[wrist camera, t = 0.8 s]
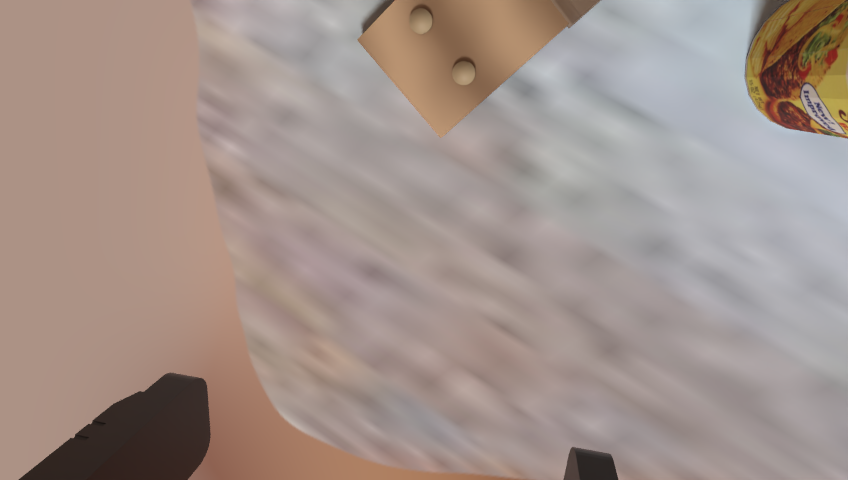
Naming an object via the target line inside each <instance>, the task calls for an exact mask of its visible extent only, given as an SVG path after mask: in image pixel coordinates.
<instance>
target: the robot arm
mask: <svg viewBox="0 0 848 480" xmlns="http://www.w3.org/2000/svg"><path fill="white" fill-rule="evenodd" d="M209 443H210V421H209V407H208V394H207V385H206V382H205V381H204V379H202V378H198V377H192V376H187V375H181V374H176V373H168V374H165V375H164V376H163V377H161V378H160V379H159V380H158V381H156V382H155V383H154V384H153V385H152V386H150V387H149V388H148V389H147V390H146V391H145V392H141V391H140V392H137V393H135V394H134V395H131V396H129V397H127V398H125V399H123V400H121V401H119V402H117V403H115V404H113V405H112V406H110V407H109V408H108V409H107V410H105V411H104V412H103V413H102V414H100V415H99V416H98V417H97V418H95V419H94V420H93V422H92V424H88V425H87V426H85V427H84V428H83V429H82V430H80V431H79V432H78V433H77V434H75V437H74V438H70V439H69V440H68V441H67V442H65V443H64V444H63V445H62V446H60V447H59V448H58V449H56V450H55V451H54V452H53V453H51V454H50V455H49V456H48V457H46V458H45V459H44V460H43V461H42V462H40V463H39V464H38V465H36V466H35V467H34V468H33V469H31V470H30V471H29V472H28V473H26V474H25V475H24V476H23V477H21V478H20V479H19V480H188V478H189V477H190V476H191V475H192V474H193V472H194V471H195V470H196V469H197V467H198V466H199V465H200V464H201V462H202V461H203V458H204V457H205V455H206V453H207V450H208V447H209ZM564 480H618V477H617V473H616V469H615V465H614V461H613V458H612V456H611V454H608V453H602V452H597V451H592V450H586V449H581V448H575V447H572V448H571V450H570V453H569V457H568V461H567V466H566V471H565V476H564Z"/></svg>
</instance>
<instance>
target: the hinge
mask: <svg viewBox="0 0 848 480" xmlns="http://www.w3.org/2000/svg"><path fill="white" fill-rule="evenodd" d="M600 1H601V0H395V1H394V2H393V3H392V4H391V5H390V6H389V7H388V8H387V9H386V10H385V11H384V12H383V13H382V14H381V15H380V16H379V17H378V19H377V20H376V21H375V22H374V23H373V24H372V25H371V26H370V27H369V28H368V29H367V30H366V31H365V32H364V33H363V34H362V35H361V36H360V37H359V39H358V41H359V43H360V44H361V45H362V46H363V47H364V49H365V50H366V51H367V52H368V53H369V54H370V56H371V57H372V58H373V59H374V60H375V61H376V63H377V64H378V65H379V66H380V67H381V69H382V70H383V71H384V72H385V73H386V74H387V76H388V77H389V78H390V79H391V80H392V81H393V83H394V84H395V85H396V86H397V87H398V89H399V90H400V91H401V92H402V93H403V94H404V96H405V97H406V98H407V99H408V100H409V101H410V103H411V104H412V105H413V106H414V107H415V109H416V110H417V111H418V112H419V113H420V114H421V116H422V117H423V118H424V119H425V120H426V121H427V123H428V124H429V125H430V126H431V127H432V129H433V130H434V131H435V132H436V133H437V134H438V136H439V137H440V138H441V137H443V136H444V135H445V134H446V133H447V132H448V131H450V130H451V129H452V128H453V127H454V126H455V125H456V124H457V123H458V122H460V121H461V120H462V119H463V118H464V117H465V116H466V115H467V114H469V113H470V112H471V111H472V110H473V109H474V108H475V107H476V106H478V105H479V104H480V103H481V102H482V101H483V100H484V99H485V98H487V97H488V96H489V95H490V94H491V93H492V92H493V91H494V90H496V89H497V88H498V87H499V86H500V85H501V84H502V83H503V82H505V81H506V80H507V79H508V78H509V77H510V76H511V75H512V74H514V73H515V72H516V71H517V70H518V69H519V68H520V67H521V66H522V65H524V64H525V63H526V62H527V61H528V60H529V59H530V58H531V57H533V56H534V55H535V54H536V53H537V52H538V51H539V50H540V49H542V48H543V47H544V46H545V45H546V44H547V43H548V42H549V41H551V40H552V39H553V38H554V37H555V36H556V35H557V34H558V33H560V32H561V31H562V30H563V29H564V28H565V27H566V26H567V27H568V28H570V27H571V26H572V25H574V24H575V23H576V22H577V21H578V20H579V19H580V18H581V17H583V16H584V15H585V14H586V13H587V12H588V11H589V10H590V9H592V8H593V7H594V6H595V5H596V4H597V3H598V2H600Z"/></svg>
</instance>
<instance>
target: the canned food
mask: <svg viewBox="0 0 848 480" xmlns="http://www.w3.org/2000/svg"><path fill="white" fill-rule="evenodd" d="M745 81H746V85H747V90H748V95H749V96H750V98H751V100H752V102H753V103H754V105H755V107H756V109H757V110H758V111H759V112H760V113H762V114H763V115H764V116H765V117H766V118H767V119H768V120H769V121H771V122H773V123H776V124H778V125H780V126H782V127H784V128H788V129H794V130H800V131H806V132H812V133H818V134H824V135H830V136H836V137H842V138H848V0H789V1H788V2H786V3H785V4H783V5H782V6H780V7H779V8H778V9H777V10H776V11H775V12H774V13H773V14H772V15H771V16H770V17H769V18H768V19H767V20H766V21H765V22H764V23H763V25H762V27H761V28H760V30H759V31H758V33H757V34H756V36H755V38H754V39H753V41H752V44H751V47H750V50H749V53H748V56H747V58H746V69H745Z"/></svg>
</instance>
